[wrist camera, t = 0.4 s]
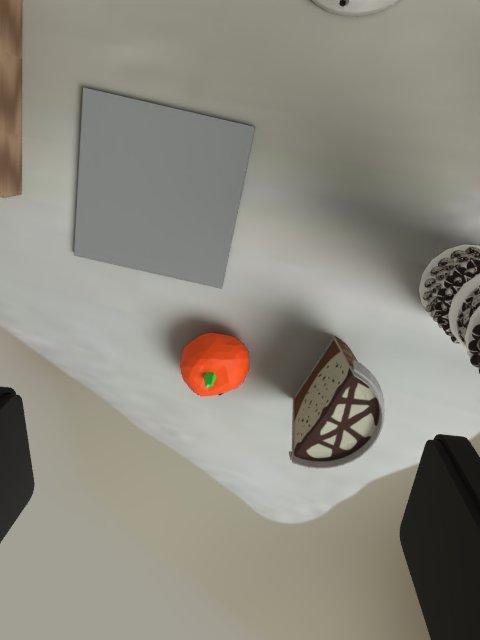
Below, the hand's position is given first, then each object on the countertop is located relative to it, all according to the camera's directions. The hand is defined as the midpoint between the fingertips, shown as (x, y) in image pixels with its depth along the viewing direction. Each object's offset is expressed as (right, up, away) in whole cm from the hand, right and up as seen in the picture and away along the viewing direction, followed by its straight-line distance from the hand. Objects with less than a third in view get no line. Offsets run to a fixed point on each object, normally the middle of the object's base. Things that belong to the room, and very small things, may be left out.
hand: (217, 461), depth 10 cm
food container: (+12, -4, +39) cm, 41 cm away
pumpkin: (-2, 0, +39) cm, 39 cm away
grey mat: (-8, +16, +33) cm, 37 cm away
